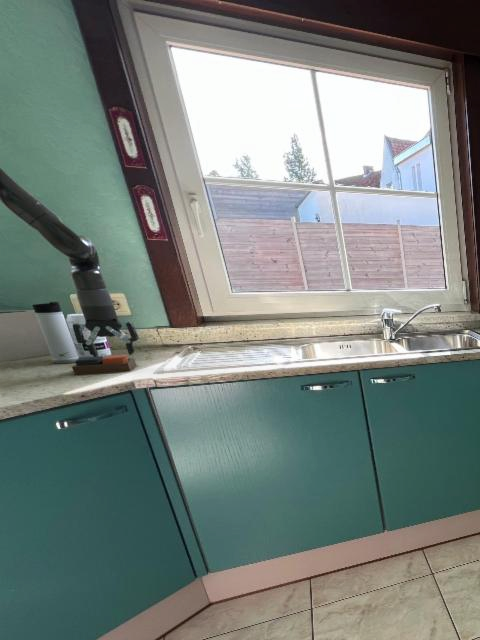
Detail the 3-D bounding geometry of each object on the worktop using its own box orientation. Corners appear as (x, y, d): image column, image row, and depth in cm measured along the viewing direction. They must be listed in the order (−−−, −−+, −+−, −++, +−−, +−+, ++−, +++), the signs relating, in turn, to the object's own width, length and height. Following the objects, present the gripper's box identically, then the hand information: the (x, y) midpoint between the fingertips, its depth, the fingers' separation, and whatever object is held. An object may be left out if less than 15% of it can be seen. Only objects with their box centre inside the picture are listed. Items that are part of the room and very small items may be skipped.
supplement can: (91, 355, 179) (76, 313, 174) (117, 355, 181) (103, 313, 175) (74, 359, 172) (57, 315, 166) (101, 359, 173) (86, 316, 168)
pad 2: (105, 370, 157) (101, 359, 156) (110, 366, 162) (106, 355, 161) (125, 368, 160) (122, 358, 159) (130, 365, 165) (126, 354, 163)
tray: (74, 374, 153) (71, 366, 152) (83, 369, 160) (80, 361, 159) (130, 371, 159) (127, 363, 158) (136, 365, 167) (134, 358, 166)
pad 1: (79, 371, 154) (75, 360, 153) (85, 367, 159) (81, 357, 158) (100, 370, 157) (96, 359, 156) (105, 366, 162) (102, 356, 160)
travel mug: (68, 364, 166) (45, 302, 158) (48, 363, 166) (24, 302, 158) (86, 360, 172) (64, 301, 164) (67, 359, 171) (44, 300, 164)
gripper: (60, 305, 147) (80, 359, 153) (123, 304, 154) (140, 355, 160) (68, 303, 153) (87, 355, 159) (129, 302, 160) (145, 351, 166)
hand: (114, 355), depth 160 cm, fingers open, 8 cm apart
